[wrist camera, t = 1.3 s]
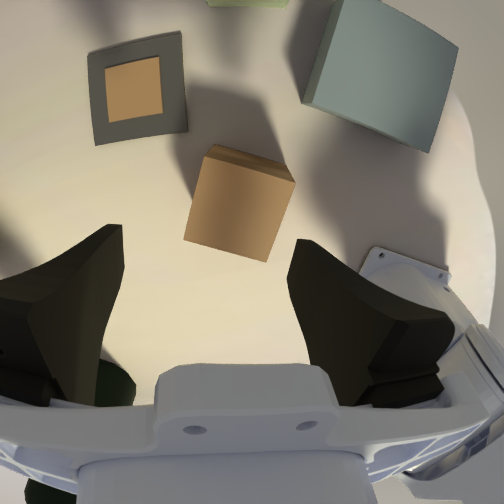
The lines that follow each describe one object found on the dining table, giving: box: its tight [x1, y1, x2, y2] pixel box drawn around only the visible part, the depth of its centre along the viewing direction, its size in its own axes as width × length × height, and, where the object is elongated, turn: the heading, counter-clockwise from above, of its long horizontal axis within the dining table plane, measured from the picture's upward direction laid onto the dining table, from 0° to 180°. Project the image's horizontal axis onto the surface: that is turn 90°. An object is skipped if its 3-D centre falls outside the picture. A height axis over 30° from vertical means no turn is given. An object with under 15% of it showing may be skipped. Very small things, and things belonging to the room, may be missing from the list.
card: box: [87, 34, 188, 146], centre depth 17 cm, size 7×7×1 cm
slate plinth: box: [301, 0, 458, 153], centre depth 16 cm, size 8×8×4 cm
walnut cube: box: [183, 144, 296, 262], centre depth 19 cm, size 5×5×5 cm
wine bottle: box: [24, 359, 136, 504], centre depth 17 cm, size 8×10×30 cm
